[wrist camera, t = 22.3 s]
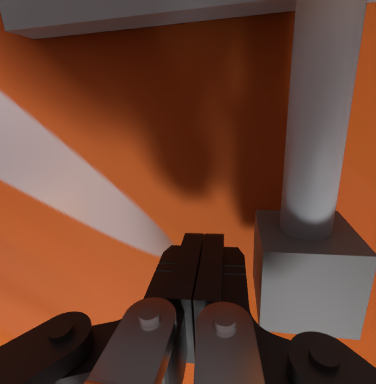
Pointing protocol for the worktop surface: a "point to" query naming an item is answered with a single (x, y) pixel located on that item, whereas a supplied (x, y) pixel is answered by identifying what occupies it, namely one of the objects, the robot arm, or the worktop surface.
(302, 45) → the vise jaw
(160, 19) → the vise
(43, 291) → the worktop surface
